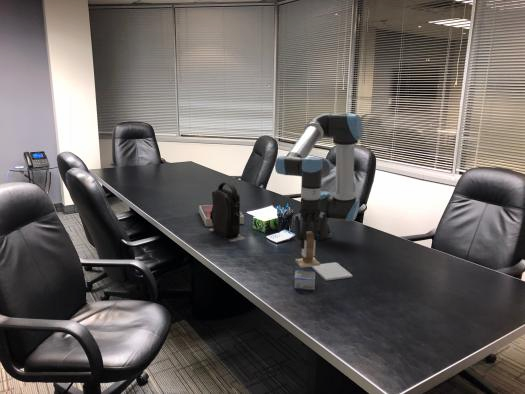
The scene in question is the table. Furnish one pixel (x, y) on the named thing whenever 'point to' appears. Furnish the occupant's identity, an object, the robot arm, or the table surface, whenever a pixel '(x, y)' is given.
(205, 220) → the product packaging
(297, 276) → the medicine box
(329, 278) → the mat
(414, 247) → the table surface
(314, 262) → the wooden stamp
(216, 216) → the shoulder bag
